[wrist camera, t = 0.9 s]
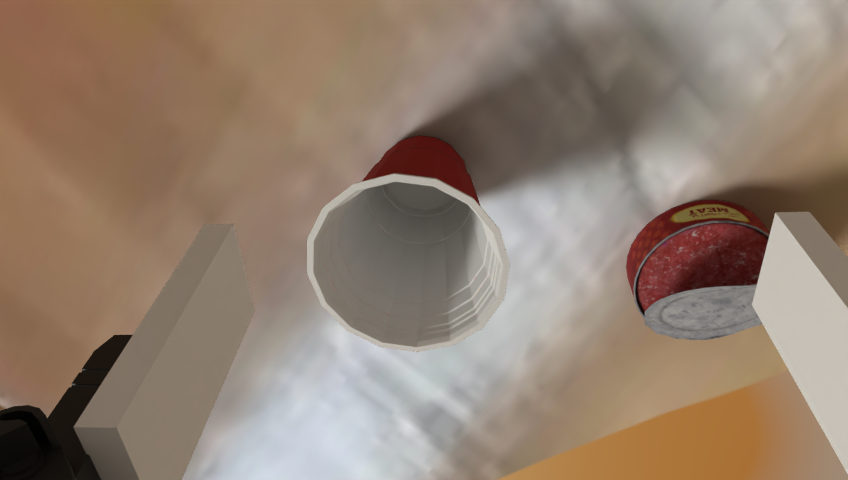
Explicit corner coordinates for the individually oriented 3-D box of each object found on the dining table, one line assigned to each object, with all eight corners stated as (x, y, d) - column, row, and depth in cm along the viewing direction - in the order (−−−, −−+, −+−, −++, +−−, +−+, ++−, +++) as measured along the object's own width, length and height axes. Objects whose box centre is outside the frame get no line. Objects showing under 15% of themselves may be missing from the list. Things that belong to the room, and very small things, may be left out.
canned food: (749, 199, 50) (863, 287, 43) (663, 299, 54) (754, 394, 47) (664, 160, 43) (783, 257, 36) (573, 278, 47) (664, 386, 40)
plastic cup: (456, 64, 41) (449, 145, 31) (529, 202, 46) (543, 312, 36) (310, 139, 44) (261, 234, 34) (392, 260, 49) (370, 375, 39)
